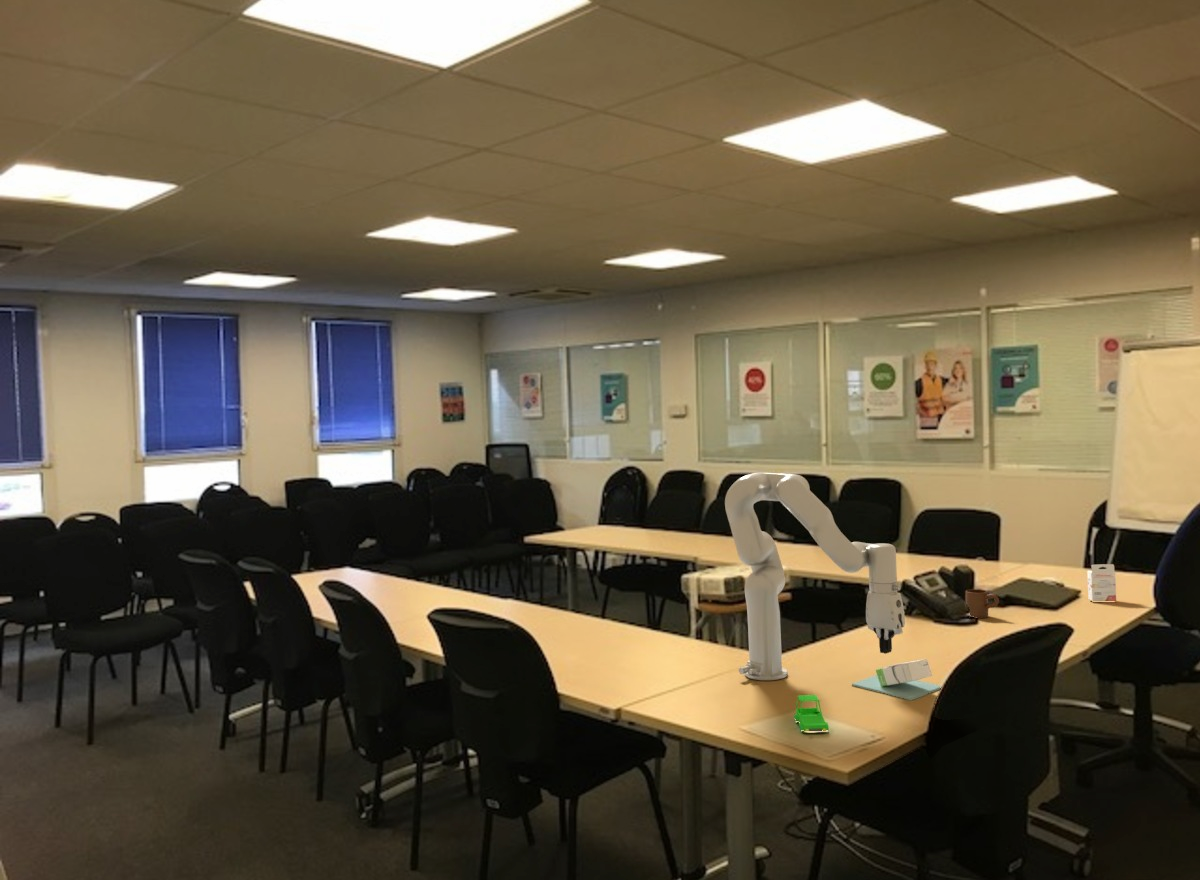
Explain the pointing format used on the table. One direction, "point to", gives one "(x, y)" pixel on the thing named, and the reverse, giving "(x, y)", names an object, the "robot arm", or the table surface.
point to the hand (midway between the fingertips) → (885, 652)
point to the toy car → (810, 715)
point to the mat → (899, 688)
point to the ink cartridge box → (1101, 583)
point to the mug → (980, 602)
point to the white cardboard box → (903, 672)
